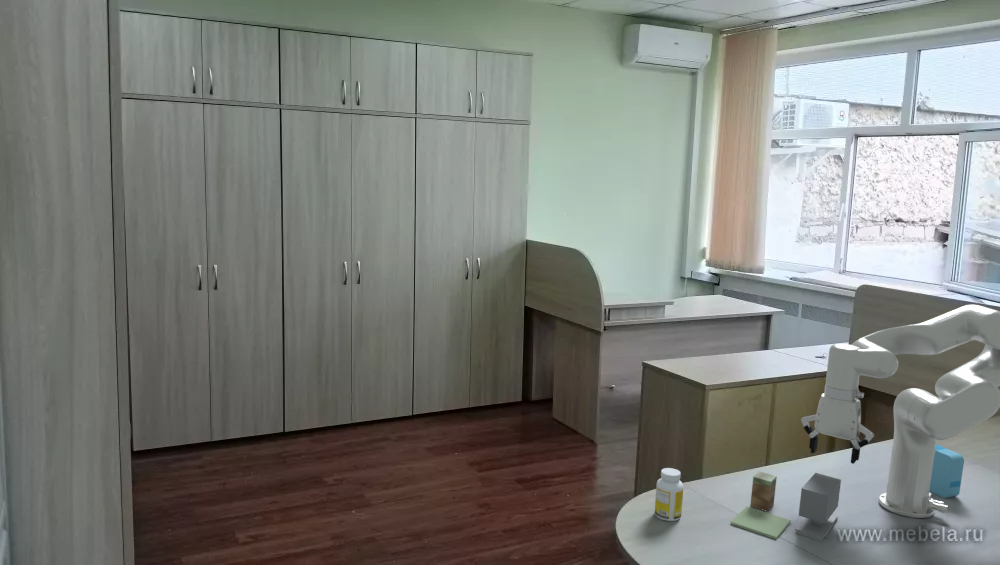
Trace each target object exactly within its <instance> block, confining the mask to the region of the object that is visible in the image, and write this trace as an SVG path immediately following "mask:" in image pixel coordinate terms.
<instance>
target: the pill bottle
mask: <svg viewBox="0 0 1000 565" xmlns="http://www.w3.org/2000/svg"><path fill="white" fill-rule="evenodd" d="M681 474H682V473H681V471H680V470H679V469H675V468H671V467H665V468H662V469H661V471H660V477H661V478H659V479H657V481H656V485H655V486H656V488H655V500H654V515H655V516H656V517H657V518H659V520H663V521H667V522H675V521H678V520H680V519H681V517H682V514H683V513H682V510H683V498H684V497H683V496H684V484H683V482H682V481H681V480H680V479H681V477H682V476H681Z"/></svg>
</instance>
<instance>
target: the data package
mask: <svg viewBox="0 0 1000 565" xmlns="http://www.w3.org/2000/svg"><path fill="white" fill-rule="evenodd" d="M964 464H965V459H964V457H963V455H962V454H961V453H959V452H957V451H953V450H951V449H948V448H946V447H943V446H941V445H938V444H936V448H935V455H934V461H933V468H932V475H931V482H930V489H929V493H931V494H935V495H936V496H939V497H941V498H943V499H945V498H953V497H957V496H959V495H960V491H961V484H962V477H963V473H964V472H963V470H964V466H965V465H964Z"/></svg>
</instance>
